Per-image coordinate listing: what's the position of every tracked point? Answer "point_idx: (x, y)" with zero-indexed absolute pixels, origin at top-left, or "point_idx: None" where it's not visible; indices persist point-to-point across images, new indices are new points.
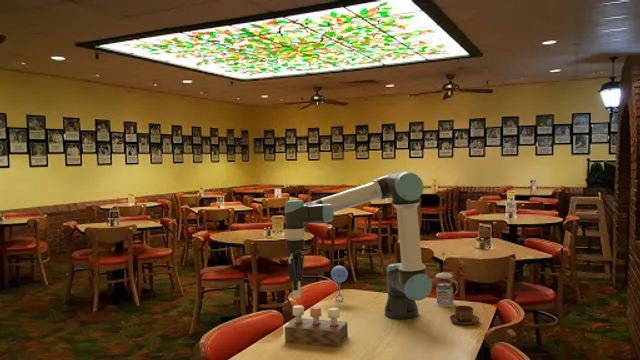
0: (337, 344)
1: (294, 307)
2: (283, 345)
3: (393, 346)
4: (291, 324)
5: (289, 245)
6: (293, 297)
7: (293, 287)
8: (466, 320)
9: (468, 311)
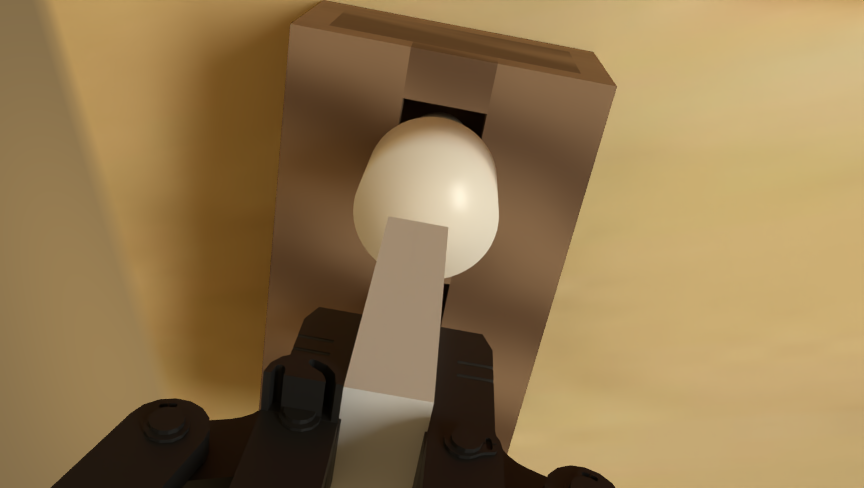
0: None
1: (396, 175)
2: (247, 2)
3: None
4: (382, 79)
5: None
6: (388, 223)
7: (298, 340)
8: None
9: None
